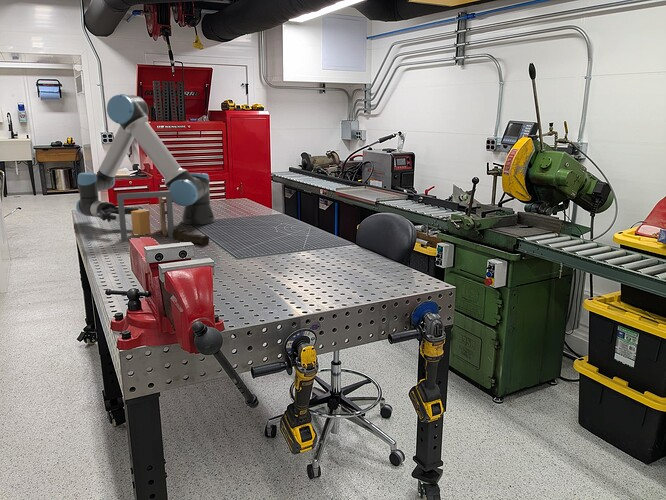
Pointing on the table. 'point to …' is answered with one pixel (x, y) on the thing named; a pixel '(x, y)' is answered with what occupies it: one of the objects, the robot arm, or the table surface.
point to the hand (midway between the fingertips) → (135, 215)
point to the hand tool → (190, 237)
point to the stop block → (140, 222)
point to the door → (162, 215)
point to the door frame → (144, 195)
